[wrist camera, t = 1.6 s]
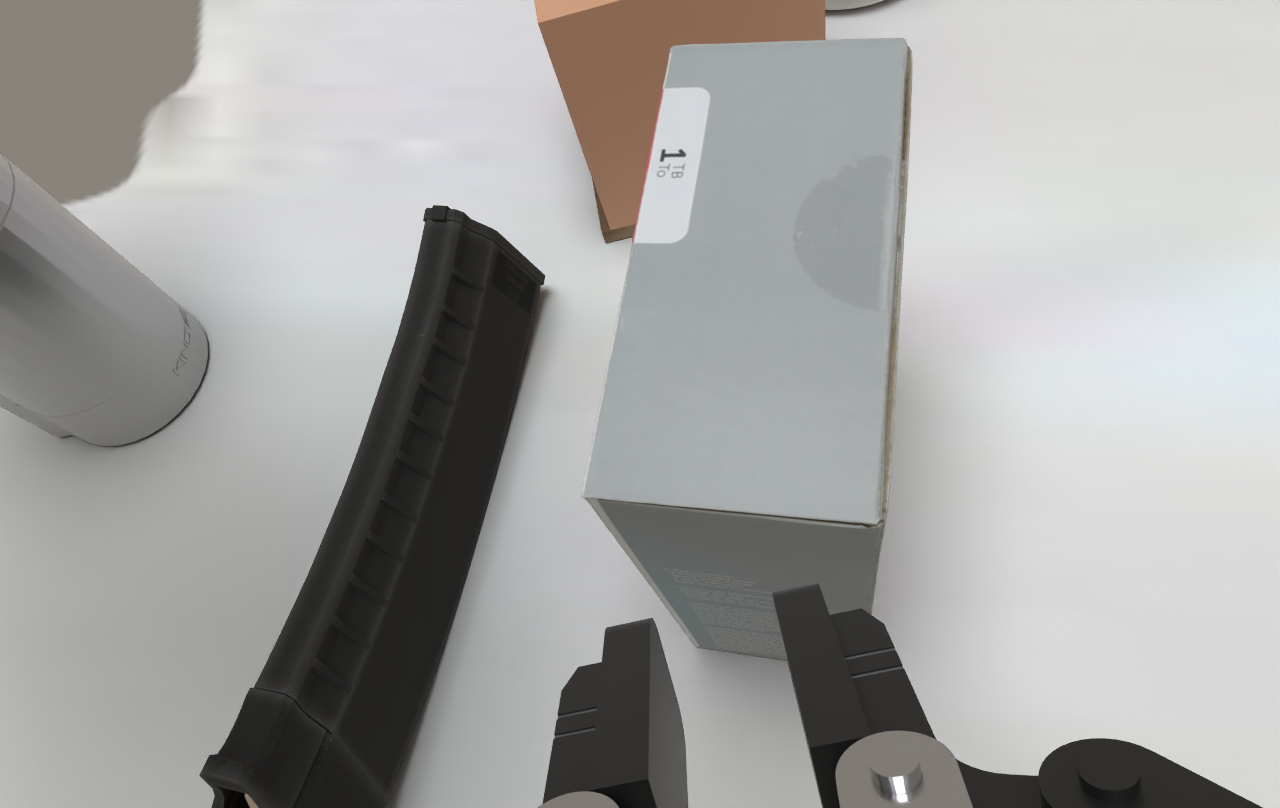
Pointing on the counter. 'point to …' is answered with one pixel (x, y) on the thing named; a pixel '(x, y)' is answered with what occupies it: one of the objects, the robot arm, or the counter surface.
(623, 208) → the rust book
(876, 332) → the hard drive box
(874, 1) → the supplement tub
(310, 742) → the magazine
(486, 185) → the counter surface
